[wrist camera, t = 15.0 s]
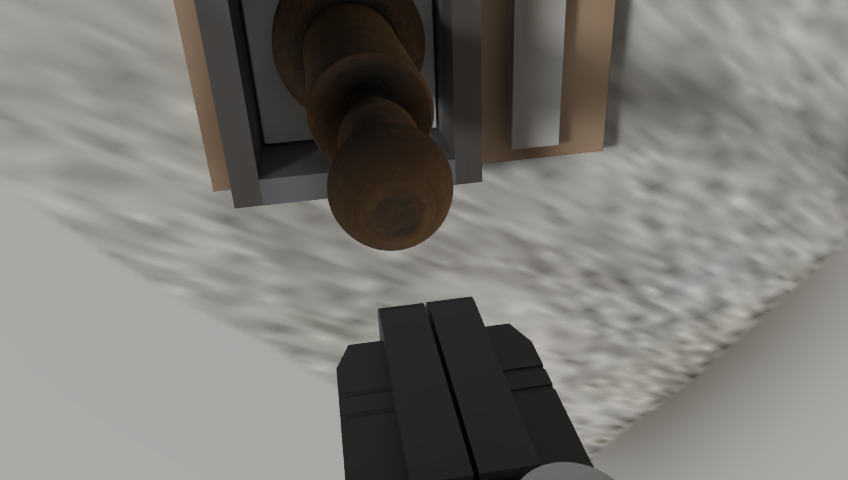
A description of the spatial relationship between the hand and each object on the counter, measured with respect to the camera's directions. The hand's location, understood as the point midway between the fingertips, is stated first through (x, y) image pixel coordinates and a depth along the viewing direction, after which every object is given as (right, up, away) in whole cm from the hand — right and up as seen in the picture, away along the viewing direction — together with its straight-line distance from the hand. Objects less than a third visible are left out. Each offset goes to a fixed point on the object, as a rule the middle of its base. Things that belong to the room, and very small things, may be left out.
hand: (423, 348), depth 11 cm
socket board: (-1, +12, +22) cm, 25 cm away
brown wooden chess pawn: (-4, +11, +20) cm, 23 cm away
